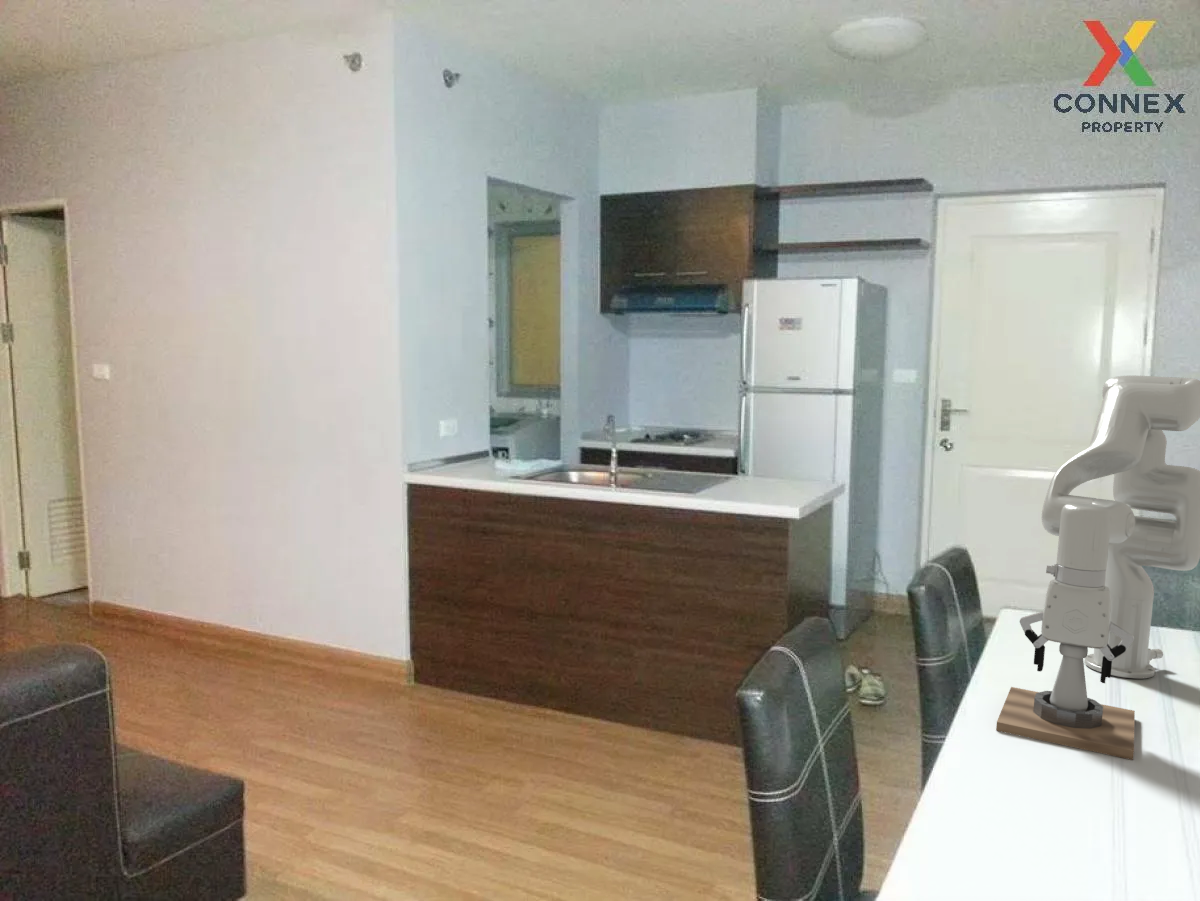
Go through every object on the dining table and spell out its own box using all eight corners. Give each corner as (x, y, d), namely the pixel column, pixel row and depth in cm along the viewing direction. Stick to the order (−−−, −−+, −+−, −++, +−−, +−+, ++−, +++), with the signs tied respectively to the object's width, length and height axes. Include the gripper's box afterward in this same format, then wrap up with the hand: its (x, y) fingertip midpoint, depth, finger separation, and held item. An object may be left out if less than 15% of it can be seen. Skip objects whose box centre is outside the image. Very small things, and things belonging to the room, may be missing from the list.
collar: (1036, 700, 167) (1038, 686, 167) (1102, 713, 162) (1104, 699, 161) (1031, 719, 158) (1032, 704, 158) (1100, 733, 153) (1101, 718, 152)
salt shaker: (1090, 724, 156) (1097, 649, 155) (1053, 720, 158) (1060, 645, 156) (1080, 711, 162) (1087, 638, 161) (1045, 707, 163) (1051, 635, 162)
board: (1010, 694, 173) (1011, 686, 173) (1133, 718, 164) (1134, 710, 163) (996, 730, 156) (996, 721, 156) (1133, 760, 146) (1133, 751, 146)
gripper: (1021, 573, 158) (1013, 670, 160) (1139, 589, 150) (1128, 692, 151) (1026, 565, 165) (1018, 659, 166) (1139, 580, 156) (1129, 679, 158)
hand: (1071, 674), depth 159 cm, fingers open, 9 cm apart
